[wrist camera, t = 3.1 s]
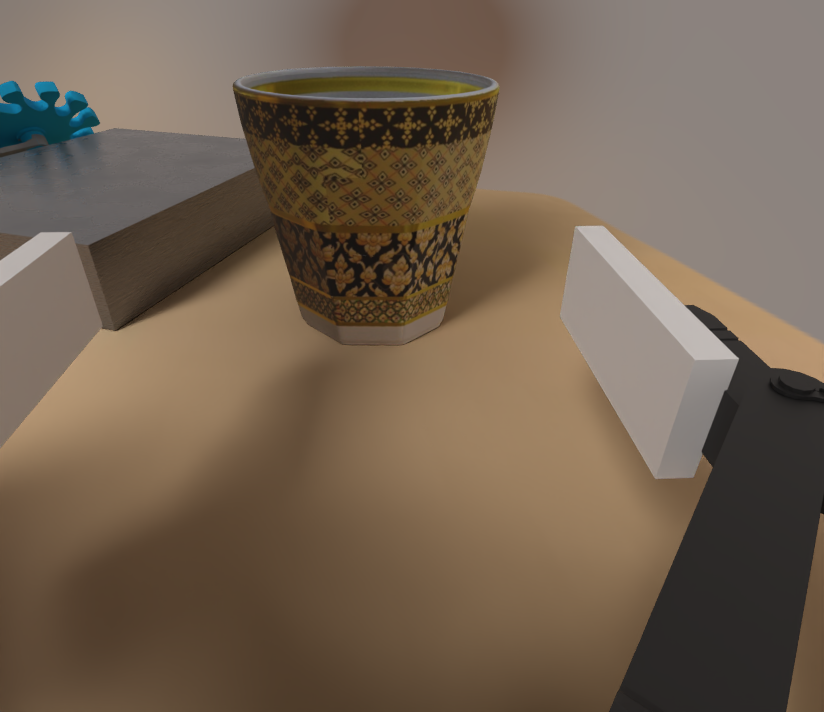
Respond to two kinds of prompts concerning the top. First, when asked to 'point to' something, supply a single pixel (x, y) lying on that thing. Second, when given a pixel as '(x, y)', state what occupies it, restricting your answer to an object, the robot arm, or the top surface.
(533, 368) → the top surface
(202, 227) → the stand
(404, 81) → the ceramic cup
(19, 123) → the gear
